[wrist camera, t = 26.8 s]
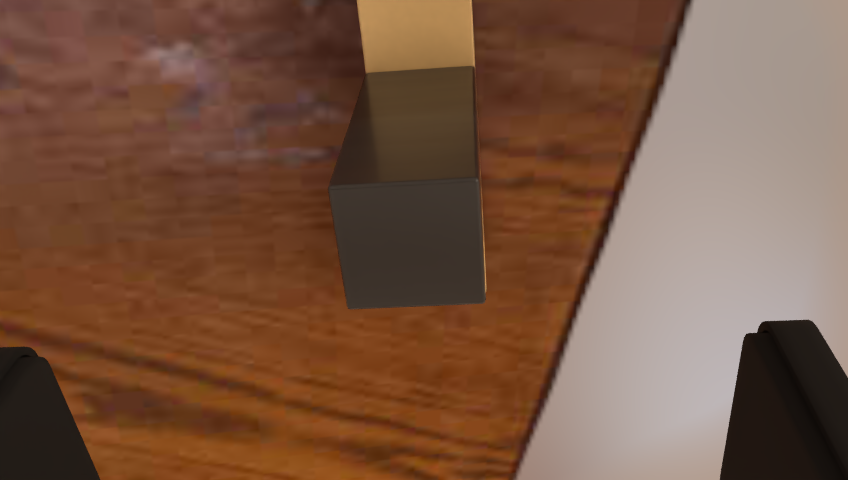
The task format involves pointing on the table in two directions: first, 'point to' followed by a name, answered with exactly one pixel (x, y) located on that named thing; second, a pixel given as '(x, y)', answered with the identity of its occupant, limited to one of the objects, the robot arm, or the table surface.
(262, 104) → the table surface
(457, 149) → the brush
